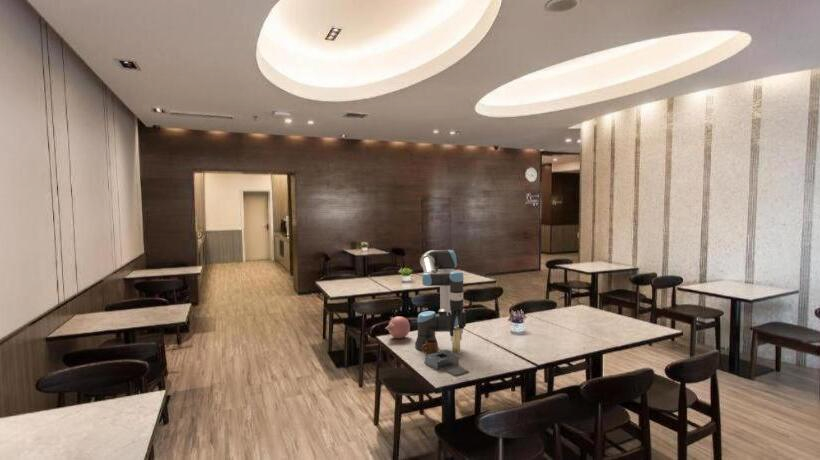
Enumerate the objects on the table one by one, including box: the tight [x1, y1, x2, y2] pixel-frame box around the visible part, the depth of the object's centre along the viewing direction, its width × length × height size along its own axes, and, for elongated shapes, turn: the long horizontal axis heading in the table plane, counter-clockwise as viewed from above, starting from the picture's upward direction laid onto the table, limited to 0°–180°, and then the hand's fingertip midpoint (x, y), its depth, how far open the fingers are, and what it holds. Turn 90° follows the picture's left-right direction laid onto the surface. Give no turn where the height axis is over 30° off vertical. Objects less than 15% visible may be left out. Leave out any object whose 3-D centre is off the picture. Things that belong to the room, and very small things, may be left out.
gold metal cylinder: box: [451, 326, 461, 354], centre depth 225 cm, size 4×4×14 cm
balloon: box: [384, 315, 411, 340], centre depth 283 cm, size 15×20×15 cm
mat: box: [443, 364, 470, 377], centre depth 226 cm, size 10×10×1 cm
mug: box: [421, 339, 439, 356], centre depth 248 cm, size 12×8×9 cm, turn 133°
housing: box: [424, 349, 460, 371], centre depth 237 cm, size 12×16×5 cm
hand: (456, 340), depth 225 cm, fingers closed on gold metal cylinder, 4 cm apart
